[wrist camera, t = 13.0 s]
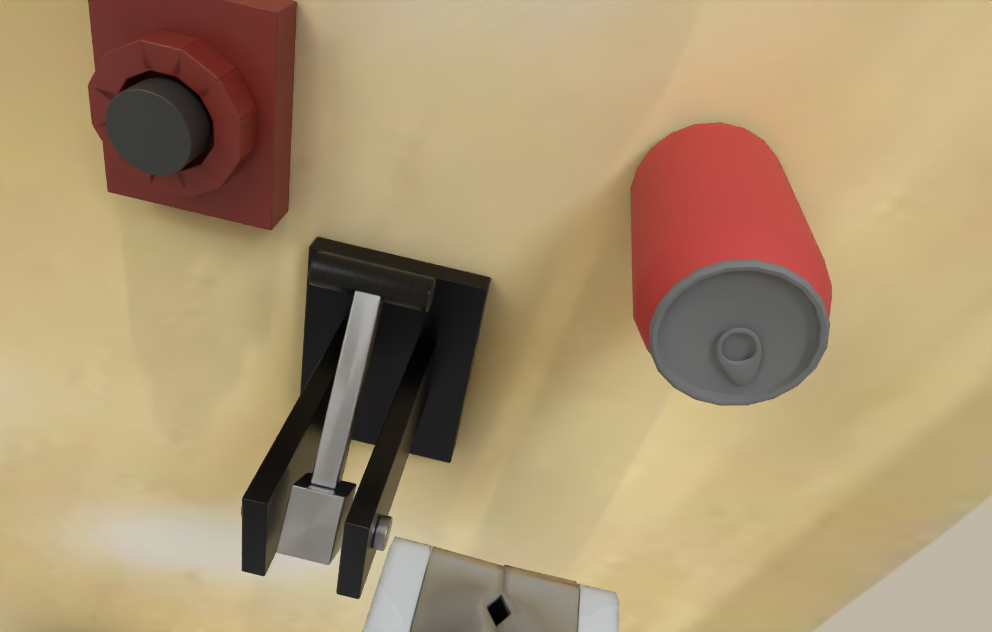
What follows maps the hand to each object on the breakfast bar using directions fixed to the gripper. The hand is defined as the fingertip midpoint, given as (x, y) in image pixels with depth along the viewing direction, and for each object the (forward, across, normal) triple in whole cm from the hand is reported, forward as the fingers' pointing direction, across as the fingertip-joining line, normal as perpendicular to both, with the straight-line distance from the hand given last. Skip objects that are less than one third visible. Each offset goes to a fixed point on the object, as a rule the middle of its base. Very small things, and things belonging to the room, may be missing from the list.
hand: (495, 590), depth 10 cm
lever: (+18, +6, +14) cm, 24 cm away
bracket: (+26, +6, +18) cm, 32 cm away
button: (+23, +16, +6) cm, 29 cm away
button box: (+26, +16, +6) cm, 32 cm away
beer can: (+27, -7, +4) cm, 28 cm away
